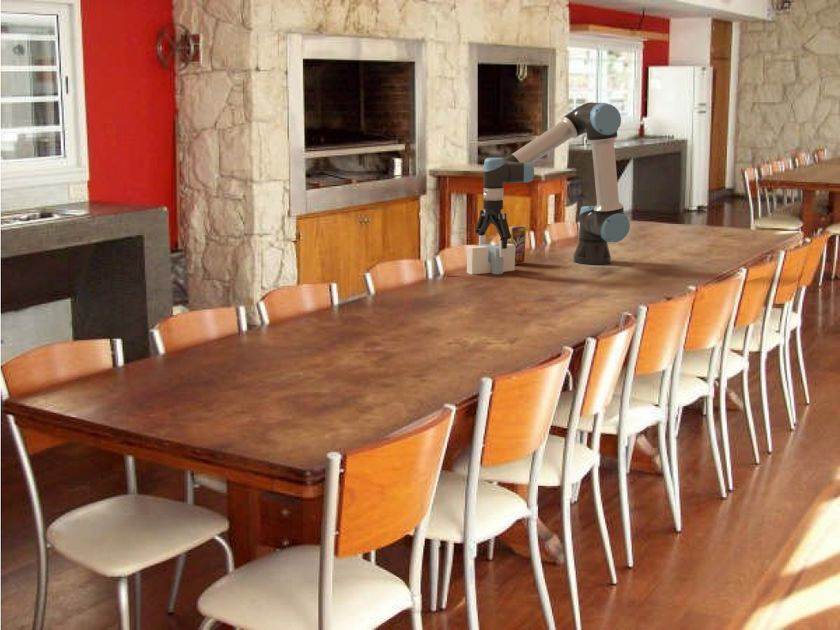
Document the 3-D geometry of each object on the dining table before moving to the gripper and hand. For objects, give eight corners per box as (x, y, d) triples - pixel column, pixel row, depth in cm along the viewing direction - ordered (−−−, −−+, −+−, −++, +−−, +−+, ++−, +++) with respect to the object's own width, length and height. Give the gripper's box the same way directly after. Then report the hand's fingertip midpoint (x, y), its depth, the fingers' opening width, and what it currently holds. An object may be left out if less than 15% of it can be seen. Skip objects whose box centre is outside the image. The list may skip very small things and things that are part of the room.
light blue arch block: (478, 269, 423) (479, 244, 421) (486, 269, 425) (487, 243, 422) (495, 274, 414) (496, 248, 412) (502, 273, 415) (503, 247, 413)
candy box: (510, 265, 433) (511, 227, 430) (502, 264, 436) (503, 226, 433) (525, 263, 440) (526, 225, 436) (517, 262, 443) (518, 224, 439)
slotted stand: (509, 269, 426) (510, 243, 424) (514, 270, 423) (515, 244, 421) (466, 272, 415) (467, 246, 413) (471, 274, 413) (472, 248, 410)
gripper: (466, 196, 422) (466, 250, 426) (504, 203, 401) (503, 259, 406) (482, 195, 426) (481, 249, 430) (521, 201, 405) (519, 258, 409)
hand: (492, 254), depth 418 cm, fingers open, 13 cm apart
